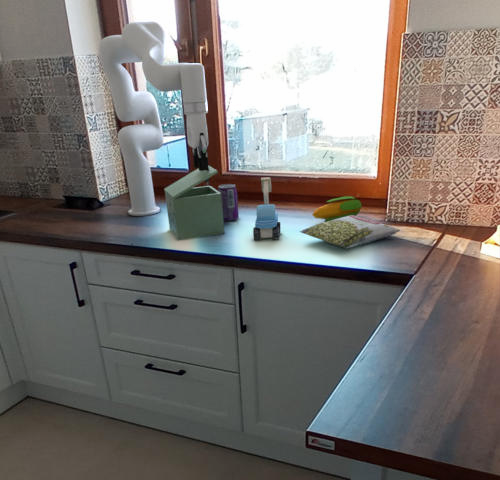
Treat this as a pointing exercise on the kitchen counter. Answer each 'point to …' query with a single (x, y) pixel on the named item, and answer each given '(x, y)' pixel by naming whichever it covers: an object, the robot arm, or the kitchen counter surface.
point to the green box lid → (189, 181)
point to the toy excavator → (266, 216)
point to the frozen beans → (350, 231)
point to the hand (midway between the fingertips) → (201, 168)
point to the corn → (338, 209)
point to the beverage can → (229, 202)
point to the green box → (195, 213)
